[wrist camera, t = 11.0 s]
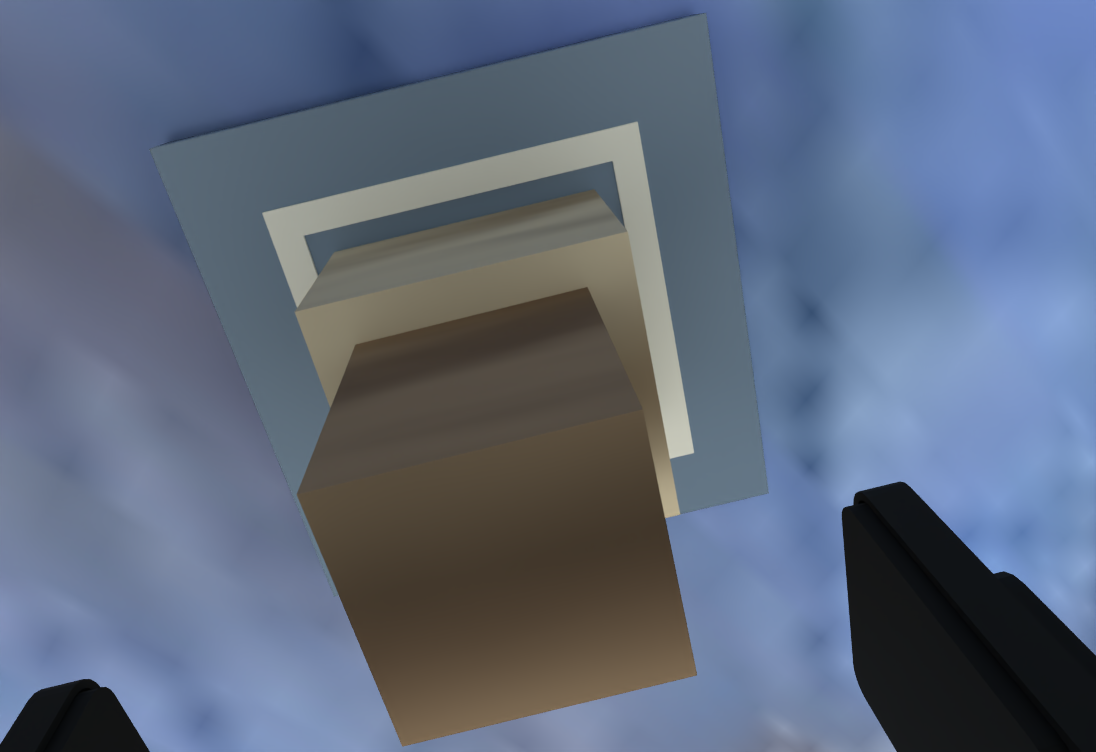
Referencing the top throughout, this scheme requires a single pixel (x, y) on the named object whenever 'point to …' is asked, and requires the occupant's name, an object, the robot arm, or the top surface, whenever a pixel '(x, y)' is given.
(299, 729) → the top surface
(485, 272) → the maple base block
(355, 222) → the board
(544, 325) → the walnut block
